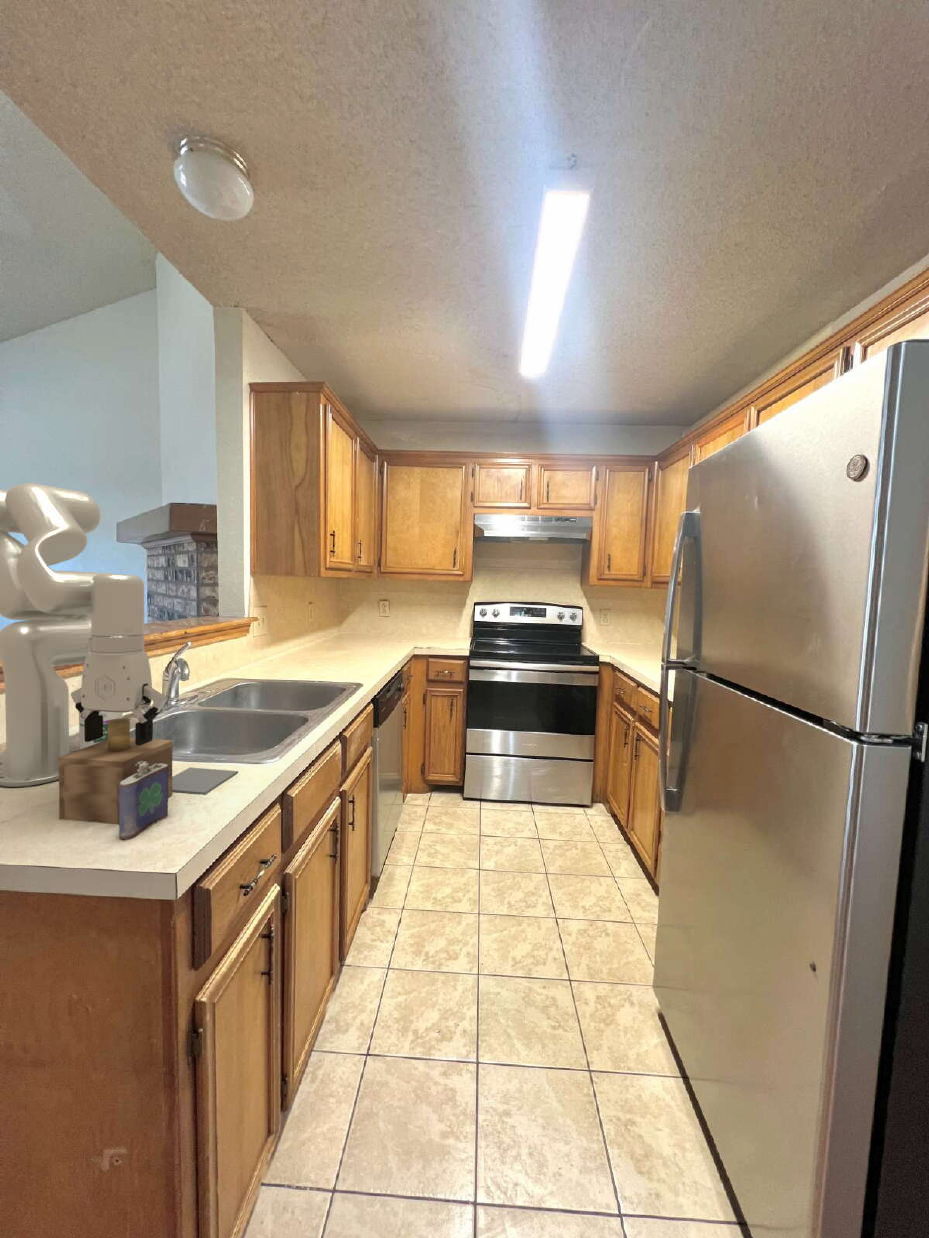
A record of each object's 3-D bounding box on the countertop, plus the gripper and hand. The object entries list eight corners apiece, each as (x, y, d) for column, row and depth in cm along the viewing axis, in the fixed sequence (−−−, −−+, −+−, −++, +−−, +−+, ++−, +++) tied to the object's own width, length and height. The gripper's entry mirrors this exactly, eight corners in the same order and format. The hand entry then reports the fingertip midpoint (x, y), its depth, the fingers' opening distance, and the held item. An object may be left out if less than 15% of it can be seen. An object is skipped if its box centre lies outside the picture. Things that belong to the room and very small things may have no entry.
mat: (151, 790, 92) (151, 788, 92) (189, 769, 103) (189, 767, 102) (205, 794, 91) (205, 792, 91) (238, 772, 101) (238, 771, 101)
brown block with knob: (59, 818, 80) (58, 727, 79) (116, 790, 91) (115, 710, 90) (122, 824, 78) (122, 732, 78) (172, 794, 90) (172, 714, 89)
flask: (129, 840, 74) (128, 773, 73) (112, 839, 74) (111, 771, 73) (172, 813, 83) (172, 753, 82) (157, 812, 83) (157, 752, 82)
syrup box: (91, 781, 95) (90, 709, 94) (79, 774, 98) (78, 705, 97) (124, 772, 99) (123, 704, 99) (111, 766, 102) (110, 700, 102)
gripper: (52, 644, 80) (54, 744, 81) (148, 649, 78) (148, 751, 79) (91, 640, 88) (92, 732, 89) (179, 644, 86) (179, 738, 87)
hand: (118, 741), depth 84 cm, fingers open, 9 cm apart
